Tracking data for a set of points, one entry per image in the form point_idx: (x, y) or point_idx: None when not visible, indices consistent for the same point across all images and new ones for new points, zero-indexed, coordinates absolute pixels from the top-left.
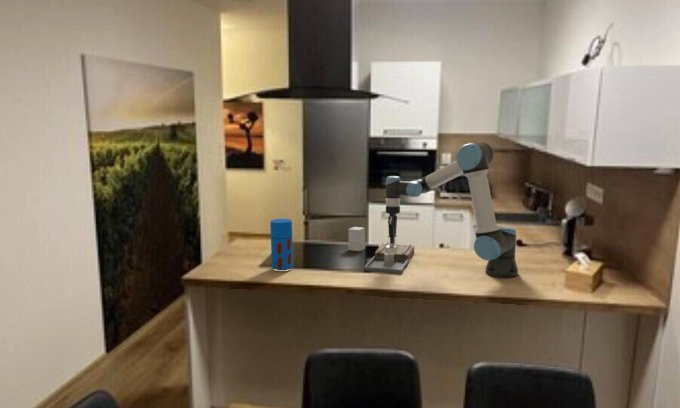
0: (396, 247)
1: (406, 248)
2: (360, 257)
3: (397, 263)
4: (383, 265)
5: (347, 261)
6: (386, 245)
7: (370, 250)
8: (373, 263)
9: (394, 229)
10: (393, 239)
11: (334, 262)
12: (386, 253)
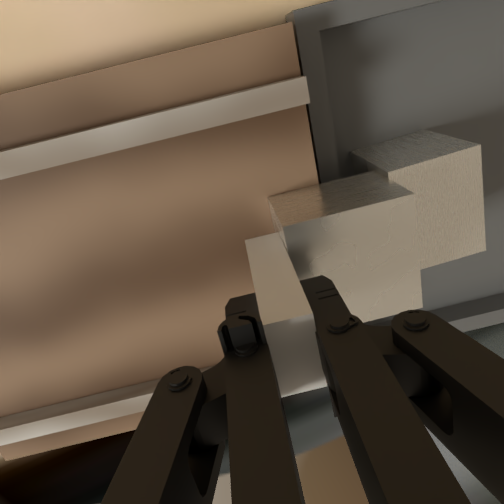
0: (283, 216)
1: (79, 146)
2: (318, 437)
3: (396, 103)
4: (500, 192)
5: (445, 451)
6: (59, 405)
7: (102, 472)
8: (465, 288)
9: (383, 440)
10: (318, 309)
11: (490, 492)
12: (458, 241)
